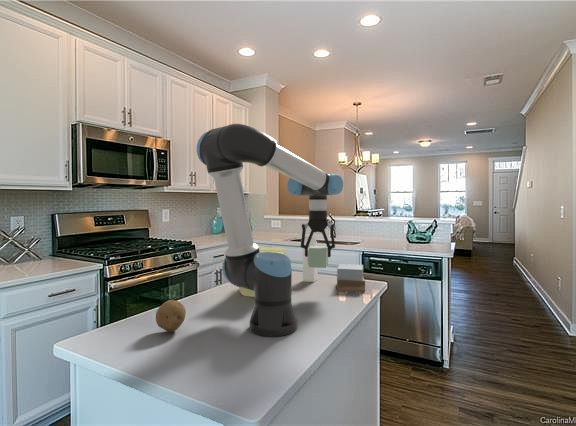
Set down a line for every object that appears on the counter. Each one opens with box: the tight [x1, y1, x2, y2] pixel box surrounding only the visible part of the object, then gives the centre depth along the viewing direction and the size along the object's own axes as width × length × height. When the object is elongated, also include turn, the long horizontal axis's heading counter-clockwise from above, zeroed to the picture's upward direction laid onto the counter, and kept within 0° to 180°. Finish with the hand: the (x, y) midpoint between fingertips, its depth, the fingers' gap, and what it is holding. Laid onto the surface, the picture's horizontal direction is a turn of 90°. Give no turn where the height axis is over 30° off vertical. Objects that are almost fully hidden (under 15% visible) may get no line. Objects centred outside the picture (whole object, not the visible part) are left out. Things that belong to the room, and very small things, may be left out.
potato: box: [155, 299, 186, 333], centre depth 106 cm, size 9×9×10 cm
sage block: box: [309, 245, 327, 269], centre depth 144 cm, size 7×7×8 cm
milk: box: [302, 236, 319, 283], centre depth 171 cm, size 6×6×22 cm
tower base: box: [336, 276, 366, 292], centre depth 157 cm, size 12×12×5 cm
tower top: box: [336, 263, 364, 281], centre depth 157 cm, size 11×11×5 cm
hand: (317, 264), depth 144 cm, fingers closed on sage block, 7 cm apart
